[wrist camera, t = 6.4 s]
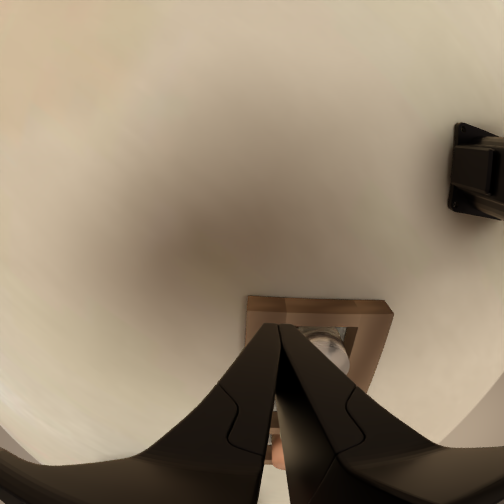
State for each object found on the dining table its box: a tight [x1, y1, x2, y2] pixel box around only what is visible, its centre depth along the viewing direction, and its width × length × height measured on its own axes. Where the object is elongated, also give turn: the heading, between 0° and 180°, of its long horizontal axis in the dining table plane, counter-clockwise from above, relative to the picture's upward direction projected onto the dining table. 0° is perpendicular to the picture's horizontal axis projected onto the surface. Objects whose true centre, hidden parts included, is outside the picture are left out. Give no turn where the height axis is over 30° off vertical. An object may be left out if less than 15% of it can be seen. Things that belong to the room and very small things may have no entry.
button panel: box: [245, 296, 394, 465], centre depth 23 cm, size 10×19×2 cm, turn 177°
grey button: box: [297, 326, 350, 375], centre depth 20 cm, size 4×4×3 cm
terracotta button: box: [271, 434, 286, 470], centre depth 23 cm, size 4×4×3 cm
